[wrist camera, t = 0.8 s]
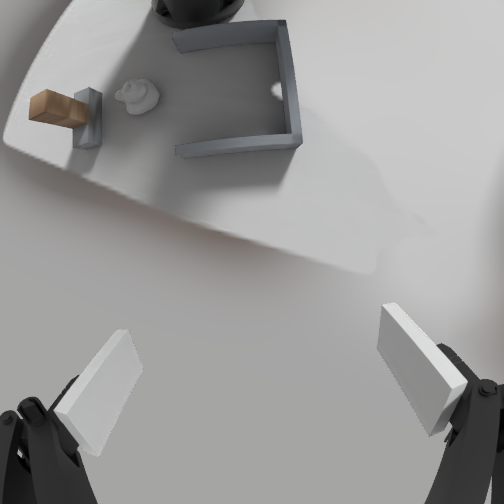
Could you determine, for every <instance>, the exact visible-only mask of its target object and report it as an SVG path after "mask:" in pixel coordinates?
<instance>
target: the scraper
mask: <svg viewBox="0 0 504 504" xmlns="http://www.w3.org/2000/svg"><path fill="white" fill-rule="evenodd" d="M29 120H32V121H38V122H43V123H48V124H53V125H58V126H62V127H67V128H71V129H73V148H79V149H86V150H87V149H91V148H94V147H97V146H101V145H102V93H100V92H98V91H96V90H94V89H92V88H90V87H89V88H86V89H84V90H81V91H79V92H77V93H74V99H73V98H70V97H67V96H65V95H62V94H59V93H56V92H54V91H51V90H48V89H46V90H44V91H42V92H40V93H38V94H37V95H35V96H33V97H32V98H31V99H30V109H29Z"/></svg>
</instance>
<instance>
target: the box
mask: <svg viewBox="0 0 504 504" xmlns="http://www.w3.org/2000/svg"><path fill="white" fill-rule="evenodd" d="M172 40H173V41H174V43H175V44H176V46H177V48H178V49H179V51H180V52H181V53H184V52H190V51H195V50H201V49H207V48H214V47H222V46H230V45H240V44H254V43H276V50H277V57H278V64H279V72H280V79H281V87H282V96H283V105H284V114H285V123H286V133H287V134H275V135H259V136H247V137H236V138H226V139H217V140H209V141H202V142H195V143H188V144H182V145H176V146H175V155H177V156H179V157H182V158H185V159H186V158H193V157H201V156H209V155H217V154H226V153H236V152H247V151H259V150H274V149H294V148H298V147H299V146H300V145H301V144H302V143H303V139H302V129H301V120H300V111H299V103H298V95H297V88H296V80H295V73H294V66H293V59H292V53H291V47H290V41H289V35H288V29H287V24H286V20H257V21H242V22H231V23H223V24H215V25H208V26H202V27H196V28H190V29H185V30H181V31H176V32H172Z"/></svg>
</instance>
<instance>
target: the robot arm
mask: <svg viewBox="0 0 504 504" xmlns="http://www.w3.org/2000/svg"><path fill="white" fill-rule="evenodd" d="M243 2H244V0H152V8H153V11H154V12H155V14H156V16H157V17H158V19H159V20H160V21H161V22H163V23H164V24H166V25H168V26H171V27H174V28H180V29H190V28H196V27H202V26H208V25H212V24H215V23H218V22H220V21H222V20H224V19H226V18H228V17H230V16H231V15H233V14H234V13H235V12H236V11H237V10H238V9H239V8H240V7H241V6H242V4H243ZM377 350H378V351H379V353H380V355H381V356H382V358H383V359H384V361H385V362H386V364H387V366H388V367H389V369H390V371H391V372H392V374H393V376H394V377H395V379H396V380H397V382H398V384H399V385H400V387H401V389H402V390H403V392H404V394H405V396H406V397H407V399H408V401H409V402H410V404H411V406H412V408H413V409H414V411H415V413H416V414H417V416H418V418H419V420H420V422H421V423H422V425H423V427H424V429H425V431H426V432H427V434H428V436H429V437H430V436H432V435H434V434H436V433H439V432H441V431H443V430H444V429H445V427H446V426H447V424H448V422H449V421H450V423H451V424H452V426H453V427H452V428H451V430H450V432H449V433H448V435H447V437H446V438H445V441H444V442H446V441H447V440H448V441H447V444H446V448H445V451H444V454H443V458H442V461H441V464H440V467H439V469H438V472H437V475H436V477H435V480H434V483H433V485H432V488H431V490H430V493H429V495H428V497H427V499H426V502H425V504H484V502H485V499H486V496H487V492H488V488H489V484H490V480H491V476H492V495H491V504H504V384H502V385H497V383H495V382H494V381H492V380H489V379H482V380H480V379H479V378H478V377H477V376H476V375H475V374H474V373H473V371H472V370H471V369H470V368H469V367H468V366H467V365H466V364H465V363H464V362H463V361H462V359H460V357H459V356H457V354H456V353H455V352H454V351H453V350H452V349H451V348H450V347H448V346H446V345H444V344H442V343H441V344H438V345H435V344H434V343H433V342H432V341H431V339H430V338H429V337H428V336H427V335H426V334H425V333H424V332H423V331H422V330H421V329H420V328H419V327H418V326H417V325H416V324H415V323H414V321H413V320H412V319H411V318H410V317H409V316H408V315H407V314H406V313H405V312H404V311H403V310H402V309H401V308H400V307H399V306H398V305H397V304H396V303H395V302H393V303H389V304H383V305H382V309H381V319H380V328H379V336H378V344H377ZM142 372H143V366H142V364H141V362H140V359H139V356H138V354H137V351H136V348H135V346H134V343H133V340H132V337H131V335H130V332H129V329H117V330H116V331H115V332H114V333H113V335H112V336H111V337H110V338H109V339H108V341H107V342H106V343H105V344H104V346H103V347H102V348H101V349H100V350H99V352H98V353H97V354H96V355H95V357H94V358H93V359H92V360H91V362H90V363H89V364H88V365H87V367H86V368H85V369H84V370H83V372H82V373H81V374H80V375H78V376H76V377H75V378H73V379H72V380H71V381H70V382H69V383H68V385H67V386H66V389H64V390H63V391H62V394H60V395H59V396H58V398H57V399H56V400H55V402H54V403H53V404H52V406H51V407H50V408H49V410H48V411H47V410H46V409H45V408H44V406H43V405H42V403H41V401H40V400H39V399H38V398H36V397H28V398H26V399H24V400H23V401H22V402H20V404H19V405H18V408H17V411H18V412H19V413H20V415H21V416H22V417H23V419H20V418H19V416H18V415H17V413H16V412H14V411H12V410H9V411H6V412H4V413H2V415H1V416H0V504H98V503H97V501H96V498H95V496H94V493H93V491H92V488H91V486H90V483H89V481H88V477H87V474H86V472H85V468H84V465H83V463H82V459H81V456H80V453H79V452H78V451H77V447H78V446H79V445H80V446H81V447H82V448H83V450H84V451H85V452H86V453H89V454H92V455H95V456H98V457H99V456H100V454H101V452H102V450H103V448H104V446H105V444H106V442H107V439H108V438H109V436H110V433H111V431H112V429H113V427H114V425H115V423H116V421H117V419H118V418H119V416H120V414H121V412H122V410H123V408H124V406H125V404H126V402H127V400H128V398H129V396H130V394H131V392H132V390H133V388H134V386H135V385H136V382H137V381H138V379H139V377H140V375H141V373H142ZM18 449H19V451H20V452H21V453H22V454H23V455H22V458H21V457H20V456H19V455H18V454H17V452H18Z"/></svg>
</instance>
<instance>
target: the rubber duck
mask: <svg viewBox="0 0 504 504" xmlns="http://www.w3.org/2000/svg"><path fill="white" fill-rule="evenodd" d="M159 97H160V93H159V91H158V90H157V89H156V87H155V86H154V84H153V83H152V82H151V81H149V80H147V79H137V80H128V81H127V82H126V83H125V84H124V85H123V87H122V89H119V90H117V91H116V93H115V99H116V100H118V101H121V102H124V103H125V104H126V110H127V112H128V113H129V114H136V115H140V114H143V113H145V112H146V111H149V110H151V109H152V108H153V107H154V106H155V105H156V104H157V103H158V100H159Z"/></svg>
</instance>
